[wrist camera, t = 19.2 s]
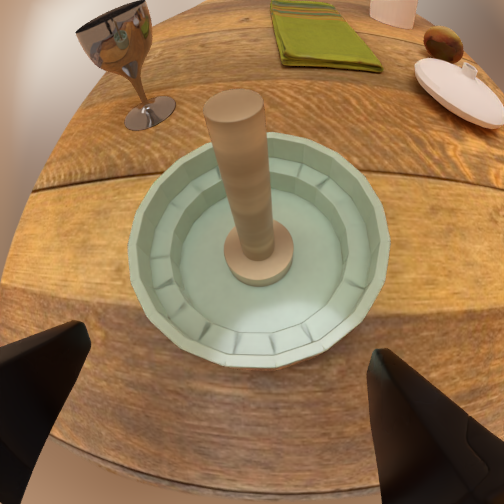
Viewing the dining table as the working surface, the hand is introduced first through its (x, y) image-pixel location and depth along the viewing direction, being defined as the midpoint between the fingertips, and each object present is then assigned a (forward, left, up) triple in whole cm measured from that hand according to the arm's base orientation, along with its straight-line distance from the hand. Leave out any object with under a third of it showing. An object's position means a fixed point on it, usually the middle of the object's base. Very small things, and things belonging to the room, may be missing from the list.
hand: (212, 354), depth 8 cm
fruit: (+57, -18, -12) cm, 61 cm away
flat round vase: (+40, -18, -12) cm, 45 cm away
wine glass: (+23, +22, -12) cm, 34 cm away
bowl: (+8, +2, -12) cm, 14 cm away
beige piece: (+8, +2, -11) cm, 14 cm away
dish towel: (+55, +7, -12) cm, 57 cm away
